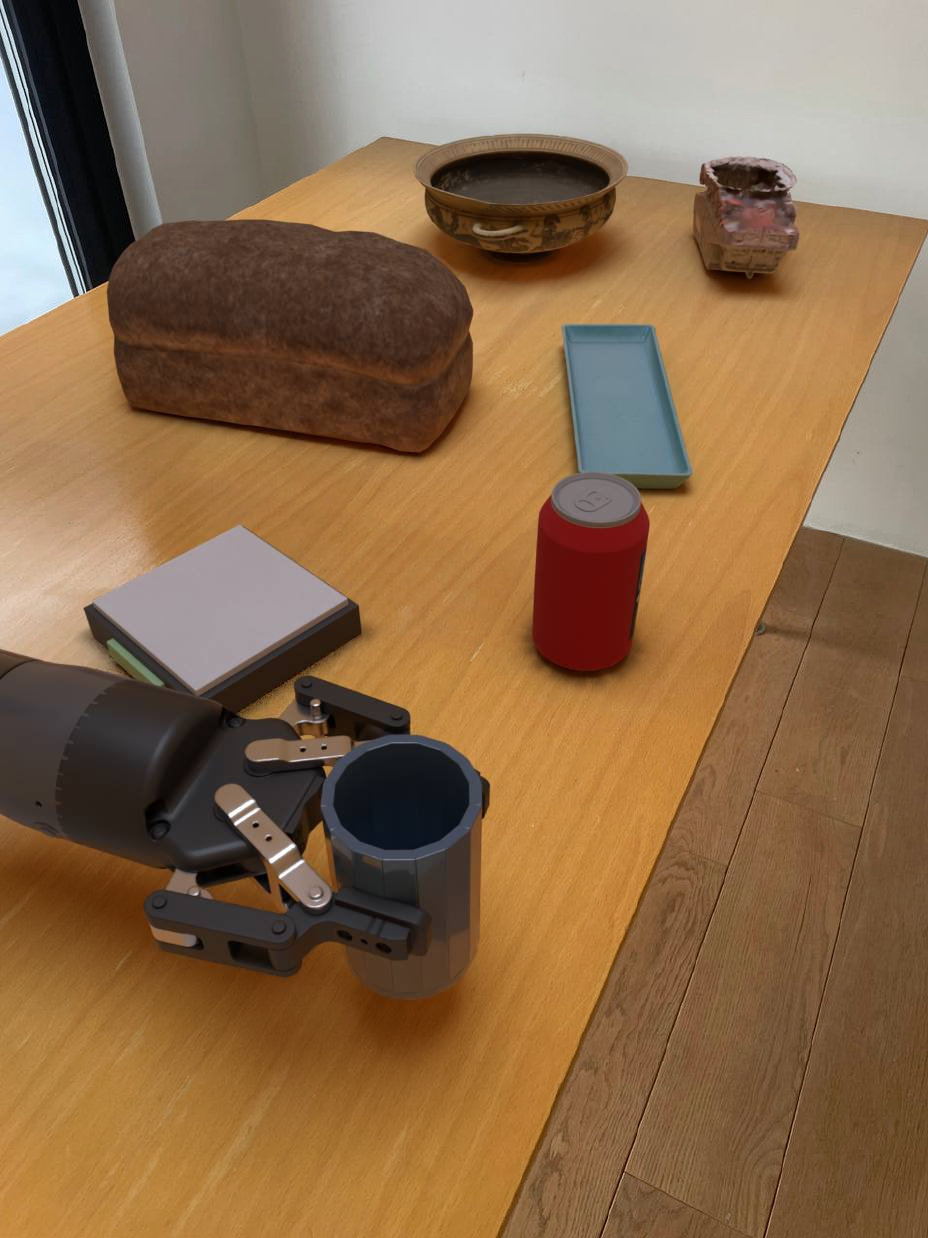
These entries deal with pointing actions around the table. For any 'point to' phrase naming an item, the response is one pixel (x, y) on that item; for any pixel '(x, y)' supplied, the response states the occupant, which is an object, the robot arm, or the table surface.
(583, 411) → the teal serving tray
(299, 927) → the robot arm
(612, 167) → the ceramic bowl
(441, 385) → the bread
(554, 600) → the beverage can
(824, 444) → the table surface
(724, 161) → the decorative box
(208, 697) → the scale
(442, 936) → the cup
